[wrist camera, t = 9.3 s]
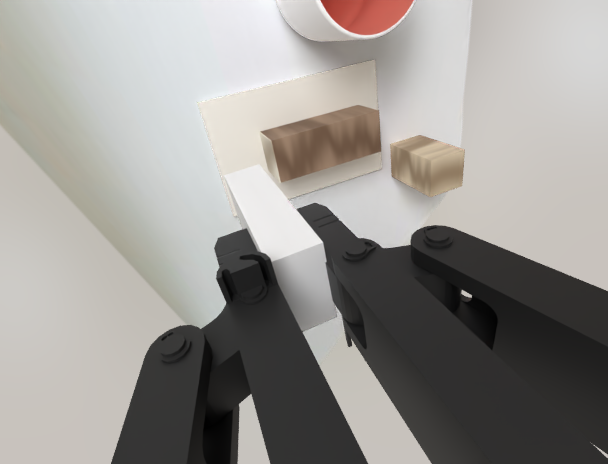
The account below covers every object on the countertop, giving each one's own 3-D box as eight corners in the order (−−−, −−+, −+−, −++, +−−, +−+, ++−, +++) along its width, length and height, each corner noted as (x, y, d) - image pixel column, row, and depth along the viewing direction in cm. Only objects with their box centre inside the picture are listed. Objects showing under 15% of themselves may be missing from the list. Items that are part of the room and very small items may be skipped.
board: (197, 102, 34) (197, 102, 34) (373, 59, 38) (375, 59, 38) (233, 215, 41) (233, 217, 40) (379, 168, 45) (381, 169, 45)
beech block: (390, 144, 44) (431, 160, 38) (419, 135, 45) (464, 149, 39) (391, 176, 47) (430, 197, 40) (419, 167, 48) (462, 185, 41)
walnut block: (270, 140, 33) (378, 110, 36) (259, 131, 37) (358, 104, 40) (280, 183, 36) (381, 151, 38) (268, 170, 39) (361, 142, 42)
